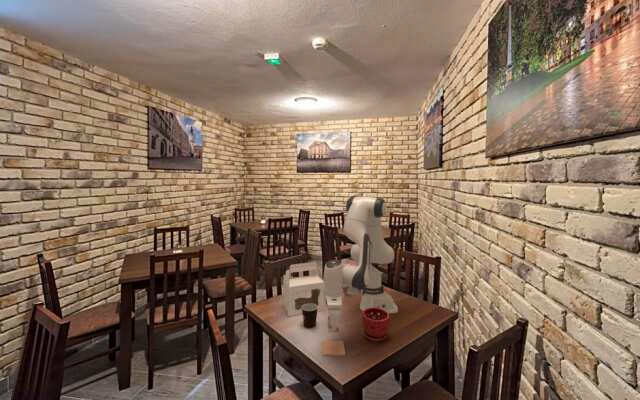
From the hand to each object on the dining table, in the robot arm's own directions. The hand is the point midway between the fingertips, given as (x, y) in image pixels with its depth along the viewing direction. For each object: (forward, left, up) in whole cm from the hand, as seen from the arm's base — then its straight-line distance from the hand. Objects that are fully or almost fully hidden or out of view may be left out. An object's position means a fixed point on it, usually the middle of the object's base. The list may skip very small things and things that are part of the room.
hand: (333, 326), depth 130 cm
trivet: (0, 0, -11) cm, 11 cm away
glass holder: (-15, -65, -11) cm, 68 cm away
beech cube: (0, 0, -2) cm, 2 cm away
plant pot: (-22, -10, -11) cm, 26 cm away
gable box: (+15, -41, -11) cm, 45 cm away
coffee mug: (+11, -20, -11) cm, 26 cm away
